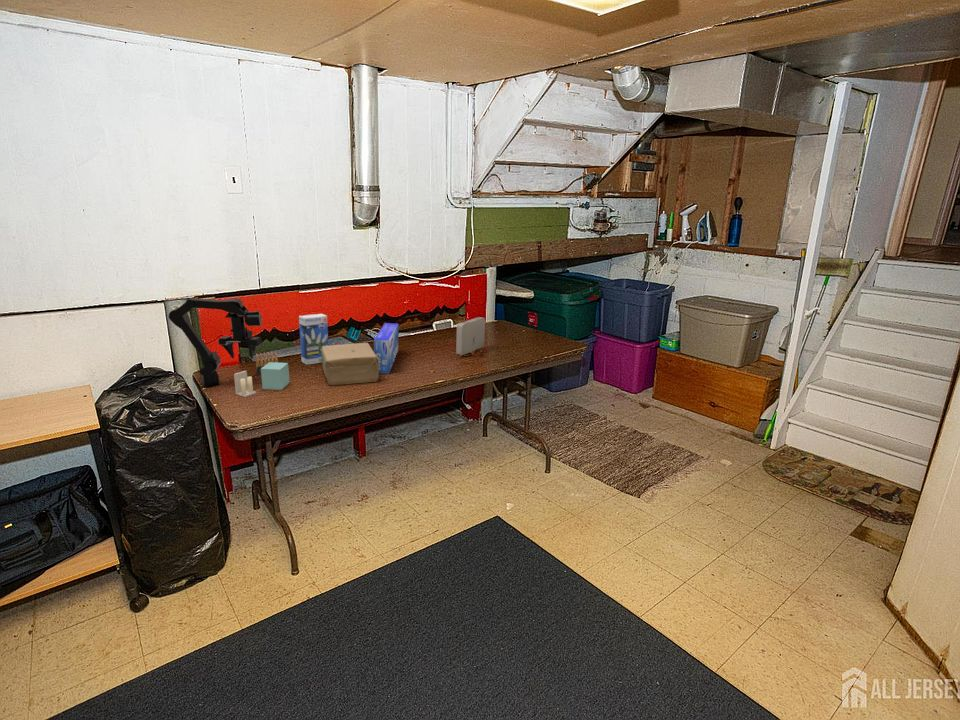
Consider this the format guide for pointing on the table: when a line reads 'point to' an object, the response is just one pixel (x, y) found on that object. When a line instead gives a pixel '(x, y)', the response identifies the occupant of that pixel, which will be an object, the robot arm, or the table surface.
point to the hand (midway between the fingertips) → (242, 358)
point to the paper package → (350, 364)
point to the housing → (275, 376)
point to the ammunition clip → (259, 366)
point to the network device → (470, 335)
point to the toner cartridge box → (386, 346)
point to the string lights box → (313, 337)
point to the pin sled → (243, 384)
